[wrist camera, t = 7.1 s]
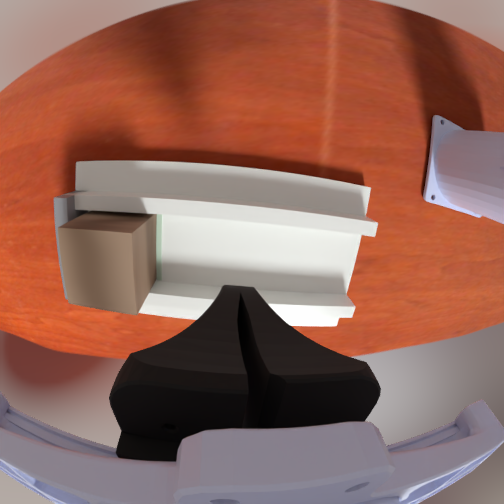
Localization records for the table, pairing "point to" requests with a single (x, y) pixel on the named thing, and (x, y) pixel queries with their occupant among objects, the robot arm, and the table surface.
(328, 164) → the table surface
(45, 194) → the table surface
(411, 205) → the table surface
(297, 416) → the robot arm
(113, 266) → the block
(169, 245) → the chute
